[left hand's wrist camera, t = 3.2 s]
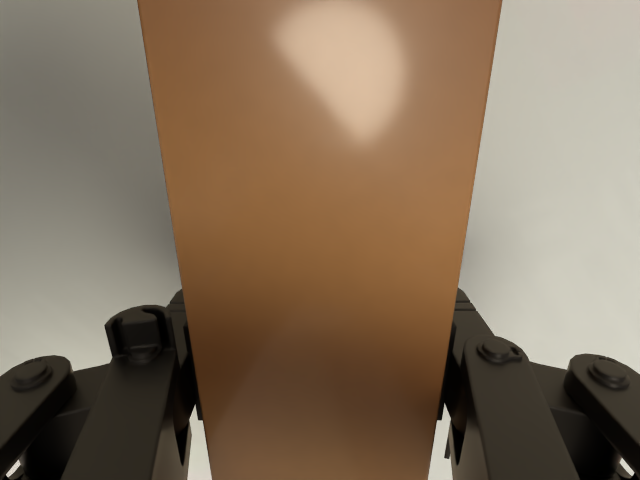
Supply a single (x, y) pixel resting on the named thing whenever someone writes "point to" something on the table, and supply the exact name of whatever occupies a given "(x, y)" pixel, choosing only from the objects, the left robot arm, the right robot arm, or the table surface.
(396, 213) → the beam
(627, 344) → the table surface
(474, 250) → the table surface
